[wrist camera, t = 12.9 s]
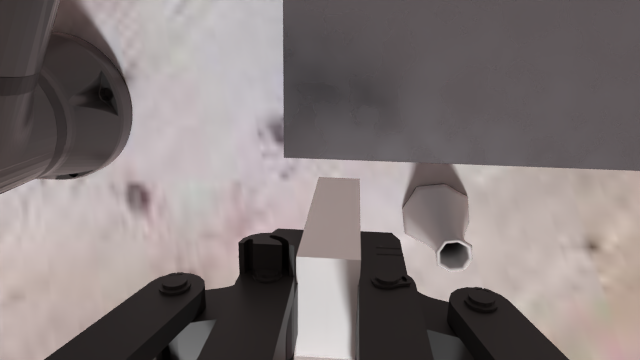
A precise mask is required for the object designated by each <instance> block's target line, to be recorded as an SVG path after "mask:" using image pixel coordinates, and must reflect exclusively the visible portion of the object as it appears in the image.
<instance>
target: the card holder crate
mask: <svg viewBox="0 0 640 360" xmlns="http://www.w3.org/2000/svg"><path fill="white" fill-rule="evenodd" d="M283 65H284V158H310V159H337V160H364V161H391V162H418V163H445V164H472V165H499V166H526V167H553V168H580V169H607V170H633V171H640V0H283Z"/></svg>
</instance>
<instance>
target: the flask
mask: <svg viewBox="0 0 640 360" xmlns="http://www.w3.org/2000/svg"><path fill="white" fill-rule="evenodd" d="M403 219H404V229H405V234H407V235H409V236H411V237H412V238H414V239H416V240H418V241H420V242H422V243H423V244H425V245H427V246H429V247H431V248H432V249H433V250H434V251H435V253H436V262H437V265H438V266H440V267H441V268H443V269H445V270H447V271H449V272H454V271H464V270H465V269H466V268H467V266H468V265H469V263H470V262H471V261H472V245H471V244H469V243H467V242H465V240H464V236H465V232H466V229H467V227H468V224H469V212H468V197H467V196H465V195H463V194H462V193H460V192H458V191H456V190H455V189H453V188H451V187H449V186H447V185H446V184H439V185H430V186H420V187H416V189H415V191H414V192H413V194H412V195H411V197H410V198H409V200H408V201H407V203H406V204H405V206H404V207H403Z"/></svg>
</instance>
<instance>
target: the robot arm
mask: <svg viewBox="0 0 640 360" xmlns="http://www.w3.org/2000/svg"><path fill="white" fill-rule="evenodd" d="M59 2H60V0H0V194H2V193H4V192H6V191H8V190H11V189H13V188H15V187H17V186H20V185H22V184H24V183H27V182H29V181H31V180H33V179H59V180H60V179H75V178H80V177H84V176H87V175H89V174H92V173H94V172H96V171H98V170H100V169H102V168H104V167H105V166H107V165H109V164H110V163H111V162H112V161H114V160H115V159H116V158H117V157H118V155H119V154H120V153H121V152H122V150H123V148H124V147H125V145H126V143H127V140H128V138H129V135H130V131H131V125H132V107H131V101H130V97H129V93H128V90H127V87H126V85H125V83H124V81H123V79H122V77H121V75H120V73H119V72H118V70H117V69H116V67H115V66H114V65H113V63H112V62H111V61H110V60H109V59H108V58H107V57H106V56H105V55H104V54H103V53H102V52H101V51H100V50H98V49H97V48H96V47H94V46H93V45H91V44H90V43H88V42H86V41H84V40H82V39H80V38H78V37H75V36H72V35H69V34H65V33H58V32H52V28H53V24H54V21H55V17H56V13H57V10H58V6H59ZM239 269H240V275H239V277H238V279H237V281H236V283H235V285H233V286H230V287H225V288H219V289H211V290H205V283H204V280H203V279H202V278H201V277H200V276H197V275H194V274H189V273H182V272H181V273H171V274H168V275H166V276H162V277H159V278H157V279H155V280H154V281H152V282H150V283H149V284H147V285H146V286H145V287H143V288H142V289H141V290H139V291H138V292H136V293H135V294H134V295H132V296H131V297H130V298H128V299H127V300H125V301H124V302H123V303H121V304H120V305H119V306H117V307H116V308H114V309H113V310H112V311H110V312H109V313H108V314H106V315H105V316H103V317H102V318H101V319H99V320H98V321H97V322H95V323H94V324H92V325H91V326H90V327H88V328H87V329H86V330H84V331H83V332H82V333H80V334H79V335H77V336H76V337H75V338H73V339H72V340H71V341H69V342H68V343H66V344H65V345H64V346H62V347H61V348H60V349H58V350H57V351H55V352H54V353H53V354H51V355H50V356H49V357H47V358H46V359H44V360H294V350H295V345H296V356H306V357H321V358H336V359H350V360H569V359H568V358H567V357H566V356H565V355H564V354H563V353H562V352H561V351H560V350H559V349H558V348H557V347H556V346H555V345H554V344H553V343H552V342H551V341H550V340H548V339H547V338H546V337H545V336H544V335H543V334H542V333H541V332H540V331H539V330H538V329H537V328H536V327H535V326H534V325H533V324H532V323H531V322H530V321H529V320H528V319H527V318H526V317H525V316H524V315H523V314H522V313H521V312H520V311H519V310H518V309H517V308H516V307H515V306H514V305H513V304H512V303H511V302H510V301H508V300H507V299H506V298H504V297H503V296H501V295H500V294H497V293H495V292H492V291H491V290H488V289H485V288H484V289H482V288H479V287H474V288H470V287H466V288H461V289H457V290H455V291H454V292H452V293H451V295H450V298H449V302H446V301H442V300H438V299H434V298H431V297H428V296H425V295H423V294H421V293H419V292H418V291H417V288H416V284H415V282H414V280H413V279H412V278H411V277H410V276H408V275H407V271H406V266H405V262H404V257H403V253H402V248H401V244H400V240H399V239H398V238H397V237H396V236H394V235H393V234H392V233H383V232H363V231H360V185H359V179H349V178H324V177H319V179H318V182H317V186H316V189H315V193H314V196H313V200H312V203H311V207H310V210H309V214H308V217H307V221H306V224H305V228H304V230H295V229H277V230H275V231H274V232H272V233H259V234H254V235H250V236H248V237H245V238H243V239H242V240H241V241H240V242H239Z"/></svg>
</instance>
